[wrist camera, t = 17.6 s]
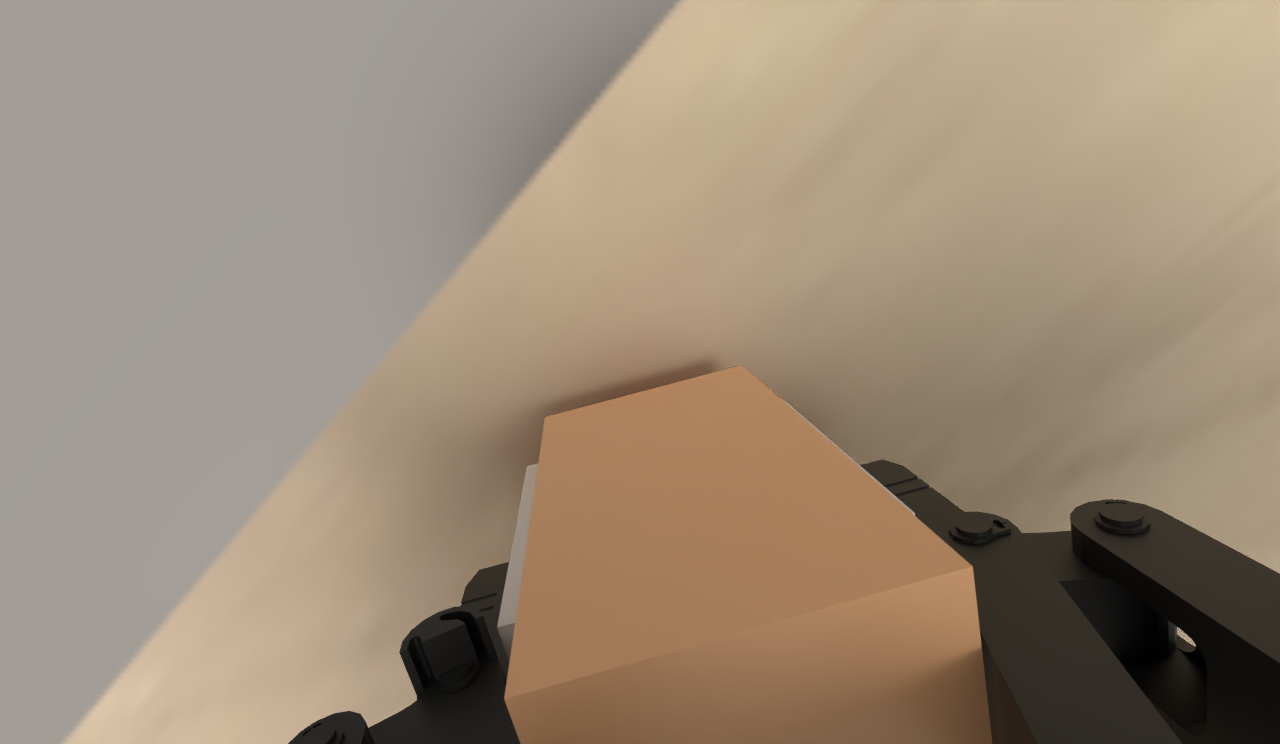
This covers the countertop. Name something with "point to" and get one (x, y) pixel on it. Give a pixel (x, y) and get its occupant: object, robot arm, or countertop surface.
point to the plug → (733, 585)
